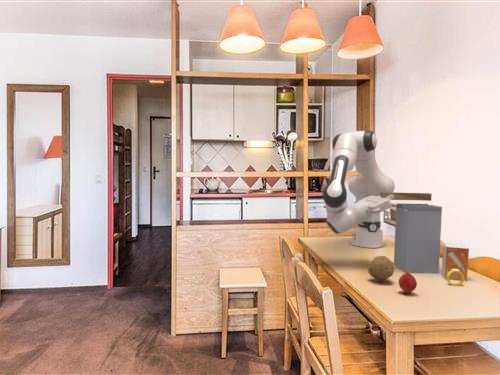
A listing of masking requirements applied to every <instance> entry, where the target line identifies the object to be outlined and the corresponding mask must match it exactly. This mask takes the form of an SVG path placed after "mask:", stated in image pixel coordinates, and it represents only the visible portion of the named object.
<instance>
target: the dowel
mask: <svg viewBox="0 0 500 375" xmlns="http://www.w3.org/2000/svg"><path fill="white" fill-rule="evenodd" d="M390 194H393V195H394V198H393V199H391V200H390V201H422V202H423V201H426V202H427V201H430V202H431V201H432V195H433V194H432V193H429V192H395V191H393V192H381V197H382V198H385V197H387V196H388V195H390Z"/></svg>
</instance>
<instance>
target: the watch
mask: <svg viewBox="0 0 500 375" xmlns="http://www.w3.org/2000/svg"><path fill="white" fill-rule="evenodd" d="M453 272H459V273H460V274H461V276H462V279H461V280H459V282H458V283H453V282H452V283H451V281H450V279H449V276H450V274H451V273H453ZM446 281H447V283H448V284H449V285H451V286H459V285H460V286H461V285H463V283H464V275H463V273H461V272H460V270H459V269H451V271H449V272H448V274H447V277H446Z"/></svg>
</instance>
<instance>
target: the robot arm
mask: <svg viewBox="0 0 500 375" xmlns="http://www.w3.org/2000/svg"><path fill="white" fill-rule="evenodd" d="M377 143H378V138H377V135H376V133H375V132H374V131H373V130H367V129H365V130H353V131H350V132H345V133H339V134H336V135H335V136H334V137H333V138H332V143H331V144H332V149H333V150H332V151H333V152H332V158H331V159H332V160H331V162H332V163H331V164H332V170H331V175H330V178H329V181H328V183H327V184H326V185H325V186H324V188H323V190H322V194H321V195H322V199H323V201H324V206H325V210H326V225H327V226H328V228H329V229H330V231H332V232H333V233H335V234H339V235H340V234H343V233H346V232H348V231H350V230H352V229H354V228H355V227H356V226H357V227H356V229H355V230H354V231H353V232H351V237H353V238H349V243H350V245H352V246H353V247H355V246H356V247H361V248H369V249H370V248H371V249H372V248H373V249H374V248H375V249H379V248H382V247H385V246H386V244H385V243H384V238H383V237H384V236H383V235H384V233H383V232H384V231H383V230H382V229H381V225H382V224H381V213H382V212H384V211H386V210H389V209H390V208H392V206H393V205H392V203H391V201H392V200H391V199H393V198H394V195H393V194H390V195H388V196H387V197H385V198H382V197H381V192H395V189H396V188H395V187H396V185H395V182H394V180H393V179H392V178H391V177H389V176H387V175H386V174H385V173H384V172H382V170H381V169H380V168H379V166H378V163H377V159H376V156H375V151H374V150H375V149H376V147H377V146H378V145H377ZM354 167H355V170H356V172H357V173H358V174H360V175H359V176H358V175H356V176H352V177H351V178H350V179H349V181H348V185H347V186H348V190H349V192H350V193H351V194H352V195H353V196H354V198H355V199H356V200H355V201H354V202H353V204H351V205H350V204H349V203H348V200H347V199H348V197H347V196H348V192H347V189H346V185H345V182H346V179H347V178H346V177H347V173H348V172H350V171H352V170H353V169H354Z"/></svg>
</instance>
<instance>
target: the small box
mask: <svg viewBox="0 0 500 375" xmlns="http://www.w3.org/2000/svg"><path fill="white" fill-rule="evenodd" d="M469 254H470V248H469V247H467V246H466V245H465V244H464V245H462V244H453V243H452V244H449V243H443V244H442V261H441V262H442V263H441V264H442V265H441V276H443V278H444V279H446V277H447V274H448V272H449V271H451V269H459V270H460V272H461V273H463V275H464V280H465V281H466V282H467V281H468V272H469V271H468V269H469V256H470V255H469ZM461 279H462V276H461V274H460V273H459V272H453V273H451V274H450V276H449V280H458V281H461ZM446 280H447V279H446Z"/></svg>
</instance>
